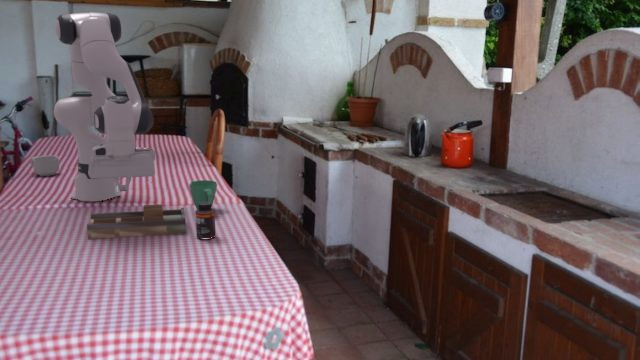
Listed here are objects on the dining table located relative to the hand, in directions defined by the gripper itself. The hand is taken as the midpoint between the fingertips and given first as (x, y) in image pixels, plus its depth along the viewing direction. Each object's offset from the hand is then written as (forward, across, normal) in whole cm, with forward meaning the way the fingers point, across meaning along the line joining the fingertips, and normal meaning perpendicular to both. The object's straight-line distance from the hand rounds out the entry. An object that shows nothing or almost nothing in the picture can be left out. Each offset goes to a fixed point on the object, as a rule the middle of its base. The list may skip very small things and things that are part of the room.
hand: (123, 190), depth 203 cm
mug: (+13, -27, -19) cm, 35 cm away
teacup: (+12, +39, -92) cm, 101 cm away
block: (+10, -9, -1) cm, 14 cm away
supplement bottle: (+14, -25, +11) cm, 31 cm away
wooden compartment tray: (+14, -4, -1) cm, 14 cm away
